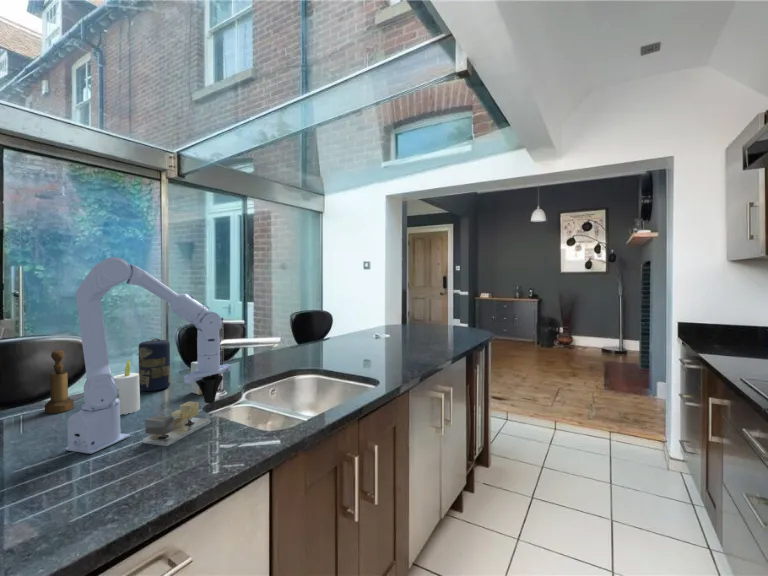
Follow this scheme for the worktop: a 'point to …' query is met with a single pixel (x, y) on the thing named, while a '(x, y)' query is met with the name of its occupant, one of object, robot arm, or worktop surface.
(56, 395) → the brown tall knobbed cylinder
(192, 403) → the sliding leg
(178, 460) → the worktop surface
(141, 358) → the canister
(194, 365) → the small box
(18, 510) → the worktop surface
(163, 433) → the grey blocky hammer
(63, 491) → the worktop surface
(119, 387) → the candle
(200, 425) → the bolt plate
